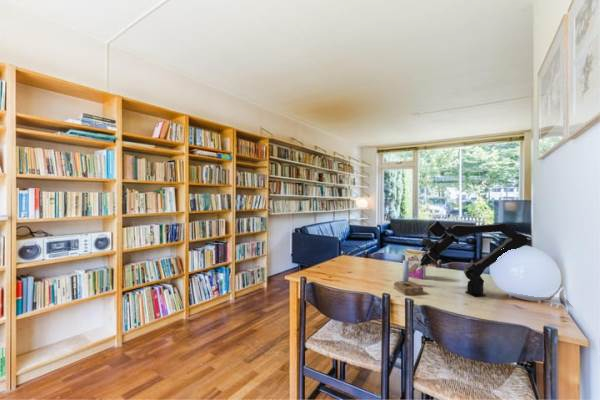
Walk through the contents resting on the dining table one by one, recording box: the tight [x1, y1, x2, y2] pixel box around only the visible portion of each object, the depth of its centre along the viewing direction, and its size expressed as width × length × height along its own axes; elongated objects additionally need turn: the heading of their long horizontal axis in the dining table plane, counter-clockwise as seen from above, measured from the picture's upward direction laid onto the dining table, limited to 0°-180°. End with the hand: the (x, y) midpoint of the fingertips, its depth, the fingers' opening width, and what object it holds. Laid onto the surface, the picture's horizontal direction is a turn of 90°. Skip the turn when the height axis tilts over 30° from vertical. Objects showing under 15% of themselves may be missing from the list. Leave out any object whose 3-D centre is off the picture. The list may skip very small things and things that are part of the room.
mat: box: [395, 280, 422, 287], centre depth 155 cm, size 10×10×1 cm
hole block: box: [393, 281, 424, 296], centre depth 143 cm, size 10×10×4 cm
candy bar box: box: [404, 248, 427, 280], centre depth 168 cm, size 11×5×16 cm, turn 47°
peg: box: [402, 259, 410, 282], centre depth 154 cm, size 3×3×13 cm
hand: (420, 263), depth 150 cm, fingers open, 9 cm apart
